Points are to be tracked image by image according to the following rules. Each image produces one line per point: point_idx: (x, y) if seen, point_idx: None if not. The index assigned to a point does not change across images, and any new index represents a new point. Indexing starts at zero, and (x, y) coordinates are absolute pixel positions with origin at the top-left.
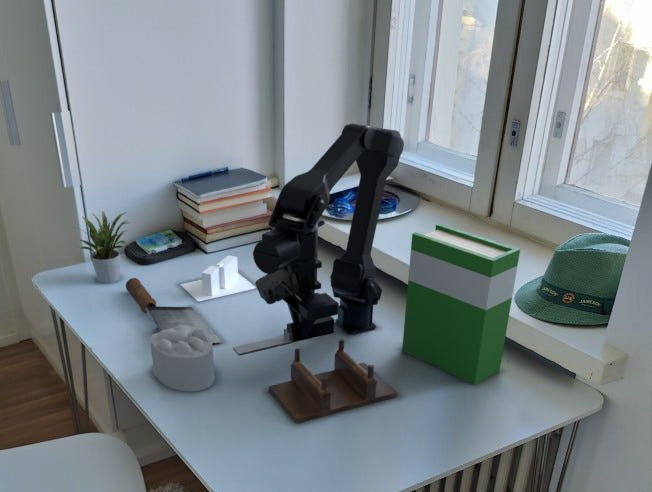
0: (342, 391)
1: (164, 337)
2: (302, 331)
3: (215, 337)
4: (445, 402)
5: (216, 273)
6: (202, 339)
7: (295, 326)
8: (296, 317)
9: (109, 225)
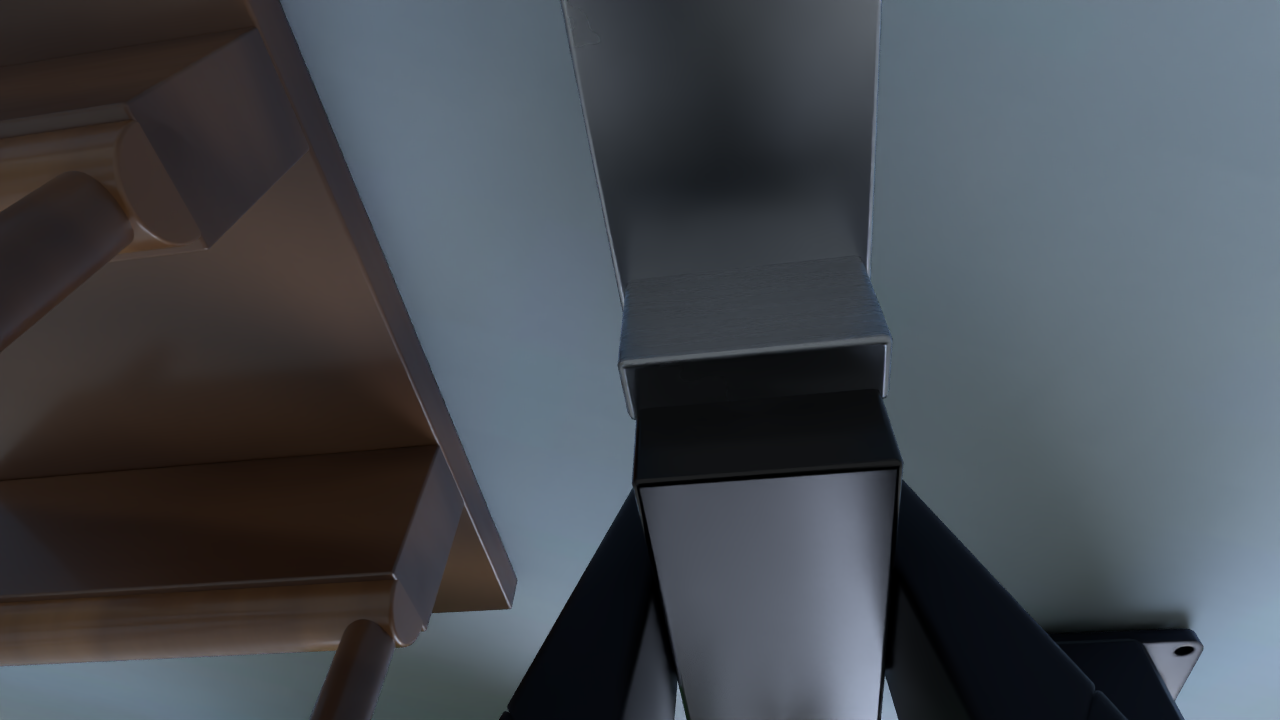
0: (82, 397)
1: None
2: (596, 559)
3: None
4: (118, 713)
5: None
6: None
7: (706, 552)
8: (925, 680)
9: None
